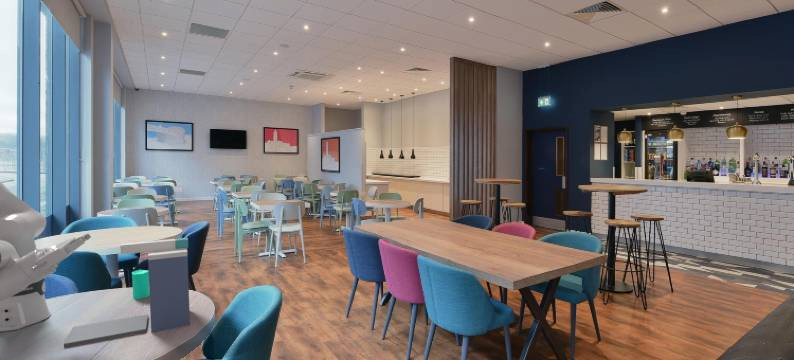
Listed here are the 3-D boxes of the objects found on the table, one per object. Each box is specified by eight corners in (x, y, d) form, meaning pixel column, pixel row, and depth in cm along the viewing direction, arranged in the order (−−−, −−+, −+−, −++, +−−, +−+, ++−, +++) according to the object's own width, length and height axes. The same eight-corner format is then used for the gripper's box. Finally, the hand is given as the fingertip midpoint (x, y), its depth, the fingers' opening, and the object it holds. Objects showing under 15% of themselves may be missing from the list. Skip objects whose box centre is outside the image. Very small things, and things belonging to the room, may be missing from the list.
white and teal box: (120, 254, 134) (120, 245, 134) (121, 252, 137) (121, 243, 137) (188, 247, 144) (187, 239, 143) (187, 245, 147) (187, 237, 146)
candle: (131, 296, 168) (129, 268, 167) (147, 292, 172) (146, 265, 171) (135, 300, 164) (133, 271, 163) (151, 296, 168) (150, 268, 167)
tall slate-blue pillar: (151, 332, 134) (148, 255, 132) (153, 315, 148) (150, 246, 146) (189, 325, 140) (187, 251, 138) (188, 309, 154) (185, 242, 152)
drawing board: (63, 347, 124) (63, 343, 124) (73, 330, 136) (73, 326, 136) (146, 332, 134) (145, 328, 134) (148, 317, 146) (147, 314, 146)
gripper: (21, 263, 116) (72, 235, 121) (43, 249, 134) (86, 225, 139) (36, 280, 118) (86, 252, 123) (56, 264, 136) (98, 240, 141)
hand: (86, 237), depth 131 cm, fingers open, 8 cm apart
